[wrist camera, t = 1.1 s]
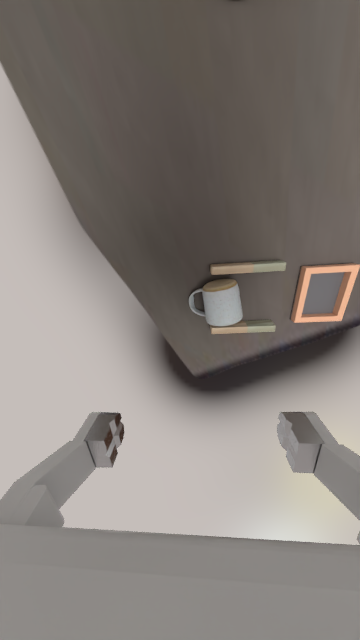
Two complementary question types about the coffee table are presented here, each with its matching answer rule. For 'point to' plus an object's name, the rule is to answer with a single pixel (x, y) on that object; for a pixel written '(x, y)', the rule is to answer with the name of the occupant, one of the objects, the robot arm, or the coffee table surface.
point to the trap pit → (323, 292)
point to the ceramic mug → (220, 302)
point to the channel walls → (246, 268)
